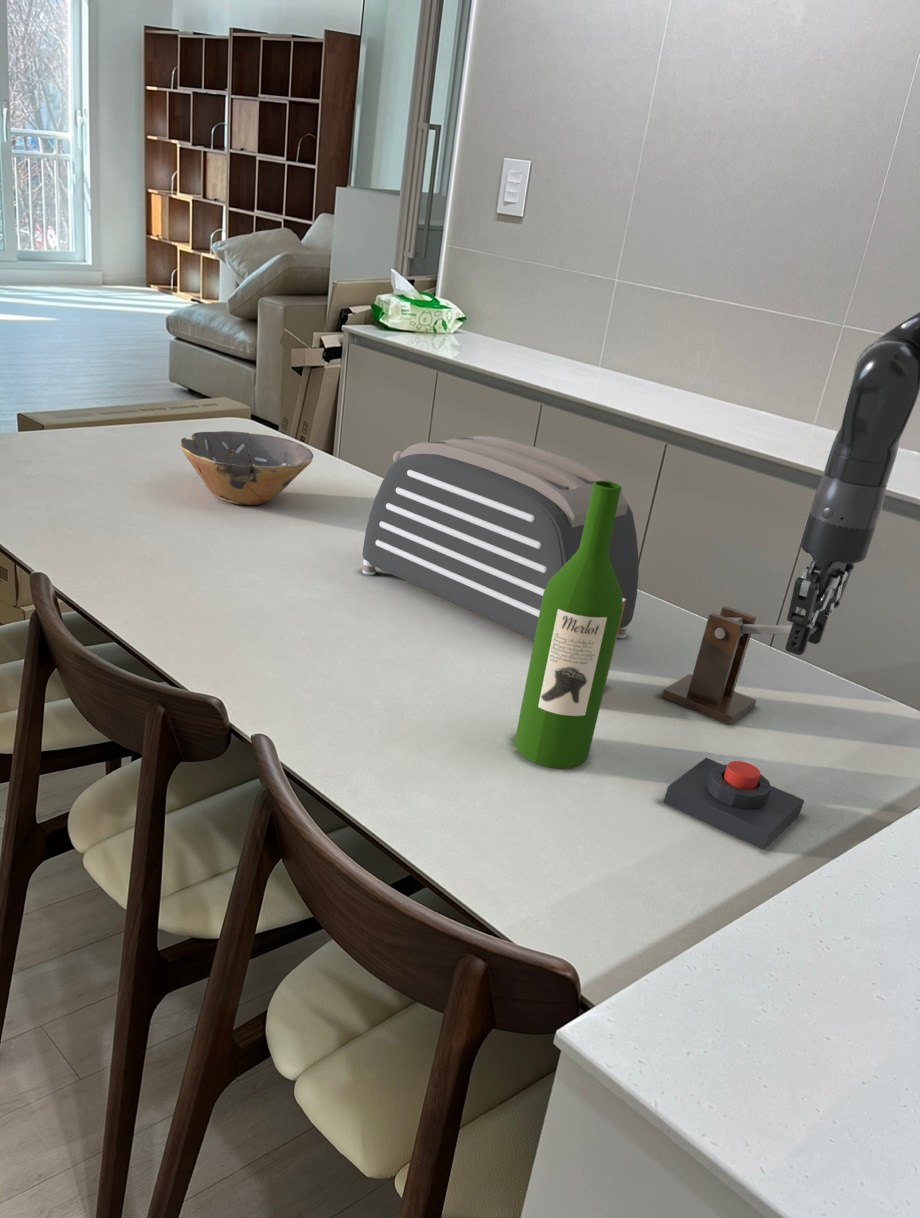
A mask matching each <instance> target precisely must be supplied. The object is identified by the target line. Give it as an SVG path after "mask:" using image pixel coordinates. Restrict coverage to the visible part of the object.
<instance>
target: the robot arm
mask: <svg viewBox="0 0 920 1218" xmlns="http://www.w3.org/2000/svg"><path fill="white" fill-rule="evenodd" d="M919 396H920V311H919V312H917V313H915V314H914V315H912V316H910V317H908V318H907V319H906V320H904V321H902V322H901V323H900V324H898V325H896V326H895V327H893V328H891V329H889V330H888V331H887V332H885V333H884V334H883V335H881V336H879V337H878V338H876V339H875V340H874V341H873V342H871V343H870V344H869V345H868V346H866V348H864V349H863V351H862V352H861V353H860V355H859V356H858V357H857V359H856V363H855V365H854V371H853V376H852V381H851V385H850V389H849V393H848V396H847V399H846V400H847V401H846V404H845V409H844V412H843V416H842V421H841V425H840V428H839V429H838V431H837V432H836V434H835V436H834V440H833V441H832V444H831V448H830V451H829V454H828V458H827V462H826V465H825V468H824V472H823V474H822V477H821V478H820V481H819V483H818V485H817V488H816V490H815V494H814V497H813V500H812V503H811V506H810V510H809V514H808V517H807V520H806V524H805V527H804V531H803V533H802V537H801V541H800V548H801V550H803V551H804V552H805V553H807V554H809V555H810V556H811V557H812V561H811V562H810V565H809V566H806V567H805V569H804V572H803V573H802V576H797V578H796V579H795V580H794V585H793V589H792V590H793V591H792V595H791V599H790V604H789V608H788V612H787V616H786V621H788V622H790V623H792V624H791V625H792V628H791V631H790V634H789V635H788V638H787V641H786V644H785V650H786V652H788V653H791V654H793V655H796V656H801V655H803V654H805V652H806V649H807V646H808V643H811V644H812V645H813V644H814V645H817V644H819V643H820V642H821V641H822V639H823V636H824V632H825V629H826V626H827V623H828V620H829V617H831V615H833V613H834V611H835V610H834V609H837V608H838V607H839V606H840V604H841V600H842V598H843V595H844V592H845V590H846V587H847V584H848V582H849V580H850V577H851V574H852V572H853V570H854V568H855V564H857V563H861V562H862V561H865V559H866V557H867V555H868V552H869V549H870V545H871V543H872V540H873V537H874V533H875V530H876V527H877V525H878V521H879V518H880V516H881V512H882V509H883V507H884V506H883V505H884V503H885V496H886V491H887V487H888V483H889V480H890V477H891V474H892V471H893V468H894V466H895V462H896V458H897V455H898V449H899V446H900V442H901V438H902V436H903V433H904V432H905V429H906V428H907V425H908V422H909V420H910V418H911V416H912V412H913V410H914V408H915V405H916V403H917V400H918V397H919ZM803 610H805V614H802V611H803ZM815 621H817V622H818V623H819V625H820V628H819V630H818V631H816V632H815V633H813V634H812V635H810V634H811V630H812V627H813V626H814V624H815Z"/></svg>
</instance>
